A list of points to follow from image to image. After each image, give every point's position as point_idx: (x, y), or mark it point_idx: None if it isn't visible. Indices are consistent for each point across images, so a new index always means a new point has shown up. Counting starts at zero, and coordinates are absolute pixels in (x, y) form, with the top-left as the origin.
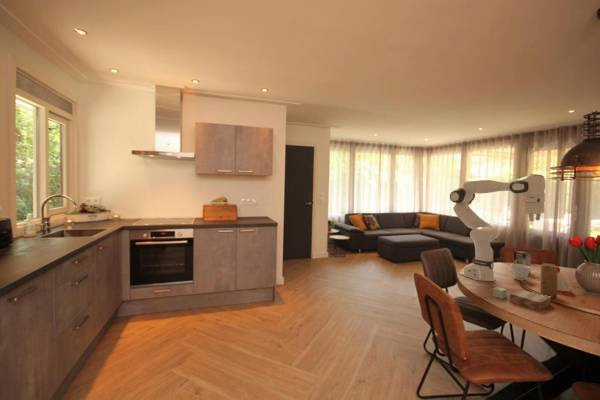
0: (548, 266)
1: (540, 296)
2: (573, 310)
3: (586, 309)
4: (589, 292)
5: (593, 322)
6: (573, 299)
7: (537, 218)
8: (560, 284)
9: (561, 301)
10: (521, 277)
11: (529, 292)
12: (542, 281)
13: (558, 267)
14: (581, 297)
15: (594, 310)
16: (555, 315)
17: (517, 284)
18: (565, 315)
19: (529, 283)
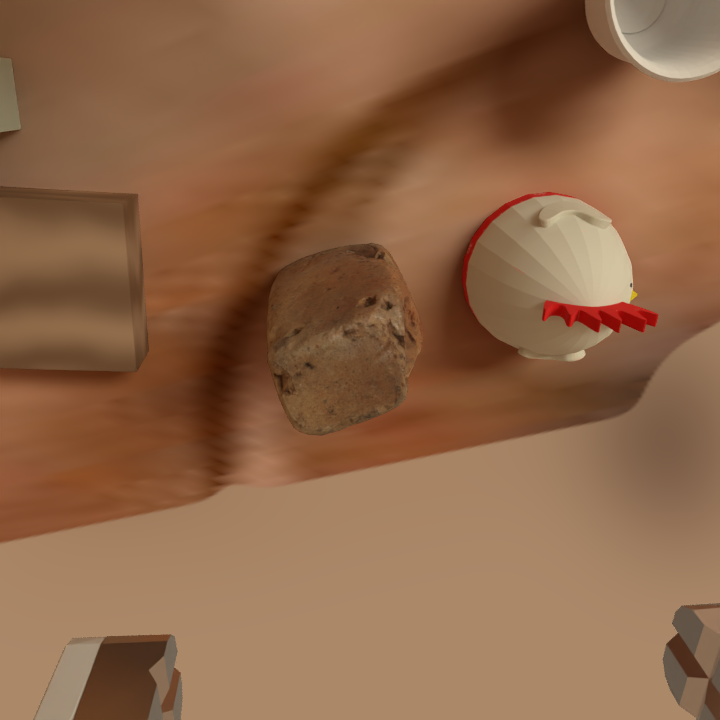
0: (290, 387)
1: (92, 330)
2: (183, 436)
3: (267, 463)
4: (631, 396)
5: (93, 521)
6: None
7: (715, 704)
8: (496, 325)
9: None
10: (589, 28)
11: (108, 259)
12: (270, 304)
13: (642, 325)
14: (478, 398)
15: (287, 484)
16: (2, 412)
17: (437, 51)
18: (58, 437)
19: (550, 102)
